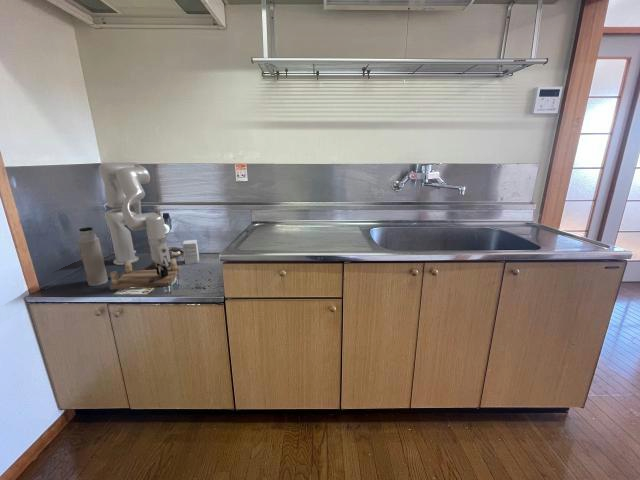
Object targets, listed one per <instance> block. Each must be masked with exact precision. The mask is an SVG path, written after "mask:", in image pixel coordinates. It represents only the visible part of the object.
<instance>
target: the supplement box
mask: <svg viewBox="0 0 640 480" xmlns="http://www.w3.org/2000/svg"><path fill="white" fill-rule="evenodd" d="M198 246H199V245H198V239H189V240H183V242H182V249H183V257H184V263H185V265H190V264H199V262H200V254H199V248H198Z"/></svg>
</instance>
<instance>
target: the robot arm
mask: <svg viewBox="0 0 640 480" xmlns="http://www.w3.org/2000/svg"><path fill="white" fill-rule="evenodd" d="M98 173H99V175H100V178H101V179H102V181H103V183H104V191H105V198H106V199H105V200H106V204H107V206H108V207H110V208H112V209H110V210H107V211H106V212H105V214H104V218H105V222H106V224H107V226H108V229H109V233H110V237H111V241H112V242H111V243H112V246H113V250H114V255H115V259H114V260H113V264H114V265H118V266H121V265H122V266H123V265H124V262H125V261H131V264H132V263H133V264H134V263H136V262H138V261H139V256H136V255H135V254H136V253H137V250H135V249H134V243H133V238H132V234H131V231H134V232H135V231H142V230H146V234H147V239H148V245H149V250H150V256H151V261H153V263H154V262H155V265H154V267H155V266H156V267H155V268H156V269H155V270H157V275H159V269H158V265H160V267H161V270H160V272H161V277H162V278H163V277H166V276H168V270H167V269H169V268H168V267H169V266H170V265H169V264H170V262H171V261H170V255H169V250H170V249H169V248H168V245H167V243H168V242H167V236H166V230H165V221H164V217H163V216H162V215H159V214H158V213H157V212H145V213H142V203H141V200H142V199H144V198H145V196H146V192H145V190H144V188H143V185H142V184H148V183H150V181H151V175H150V172H149V170H148V169H146V168H145V167H144V166H143V165H141V164H139V163H137V162H103V163H100V164H99V166H98ZM126 226H127V227H128V228H127V227H126ZM129 229H130V230H131V231H130V230H129ZM163 262H164V263H163ZM162 265H164V266H162ZM124 266H125V265H124Z"/></svg>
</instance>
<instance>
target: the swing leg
mask: <svg viewBox="0 0 640 480" xmlns="http://www.w3.org/2000/svg"><path fill="white" fill-rule="evenodd" d="M162 266H164V265H162ZM158 269H159V276H157V277H151V278H149V282H154V281H156V280H158V279H161V278H162V277H161V272H160V270H161V267H160V265H158ZM166 277H167V276H166ZM163 278H164V277H163Z"/></svg>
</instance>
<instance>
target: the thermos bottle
mask: <svg viewBox="0 0 640 480" xmlns="http://www.w3.org/2000/svg"><path fill="white" fill-rule="evenodd" d="M79 233H80V235H78V236H77V237H78V241H77V245H78V249H79V253H80V256H81V260H82V264H83V268H84V273H85V277H86V281H87V284H88V286H92V287H93V286H94V287H95V286H96V287H97V286H101V285H104V284H106V283H107V282H109V279H108V273H107V269H106V266H105V261H104V260H105V259H104V255H103V252H102V247H101V242H100V239H99V237H98V236H97V234H96V233H94V230H93V227H88V226H87V227H82V228H79Z"/></svg>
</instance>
